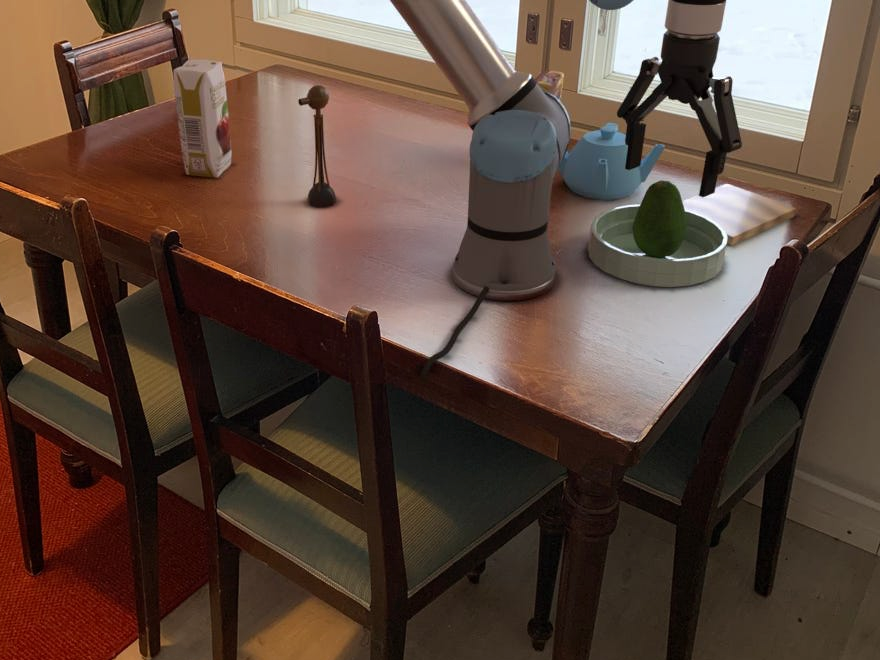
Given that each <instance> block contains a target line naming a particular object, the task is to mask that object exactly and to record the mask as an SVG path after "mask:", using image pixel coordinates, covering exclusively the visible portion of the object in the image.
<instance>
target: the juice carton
mask: <svg viewBox="0 0 880 660" xmlns="http://www.w3.org/2000/svg"><path fill="white" fill-rule="evenodd" d="M225 78H226V77H225V73H224V69H223V63H222V61H220V60H212V59H211V60H210V59H198V58H197V59H196V58H189V59H187V61H185V62H184V63H183V65H182V66H178V67H176V68H174V69H173V91H174V98H175V100H174V101H175V108H176V116H177V125H178V131H179V140H180V148H181V155H182V156H181V157H182V162H183V167H184V170H185V174H186V175H187V176H193V177H204V178H213V179H217V178H219V177H220V176H221V175H222V174H223V172H224V171H226V170H227V169H228V168H229V167H230V166H231V165H232V156H233V155H232V153H233V152H232V139H231V129H230V119H229V118H230V117H229V110H228V109H229V108H228V98H227V97H228V96H227V87H226V79H225Z"/></svg>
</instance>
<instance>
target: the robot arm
mask: <svg viewBox="0 0 880 660" xmlns="http://www.w3.org/2000/svg"><path fill="white" fill-rule="evenodd" d="M588 1H589V2H590V3H591V4H592V5H594V6H595V7H597V8H599V9H601V10H605V11H617V10H620V9H623V8H625V7H627V6H628V5H629V4H631V3H633V1H634V0H588ZM389 2H390V3H391V4H392V5H393V7H394V9H395V10H396V12H398V14H399V15H400V17H401V18H402V19H403V20H404V22H405V23H406V24H407V26H408V27H409V29H410V31H412V33H413V34H414V36H415V37H416V38H417V40H418V41H419V42H420V44H421V45H422V46H423V48H424V49H425V51H426V52H427V53H428V54H429V56H430V57H431V58H432V60H433V61H434V63H435V64H436V66H437V67H438V68H439V69H440V71H441V72H442V73H443V75H444V76H445V78H446V79H447V80H448V82H449V83H450V85H451V86H452V87H453V89H454V90H455V91H456V93H457V94H458V96H459V97H460V98H461V100H462V101H463V102H464V104H465V105H466V106H467V108H468V115H467V125H468V126H469V128H470V129H471V131H472V136H471V140H470V143H469V158H470V159H469V179H468V199H467V201H468V202H467V224H466V229H465V232H464V235H463V237H462V240H461V242H460V245H459V248H458V252H457V253H456V255H455V257H454V261H453V264H452V279H453V281H454V283H455V284H456V285H457V286H458V287H459V288H460V289H462V290H463V291H465V292H466V293H468V294H471V295H474V296H476V297H477V298H476V299H475V301H474V303H473V305H472V307H471V308H470V310H469V311H468V313H466V315H465V316H464V318H463V319H462V320H461V321H460V322H459V324H458V325H457V326H456V327H455V329H454V330H453V332H452V334H451V336H450V338H449V341H448V342H447V344H446V345H445V347H444V348H443V349H442V350H440V351H438V352H436V353H435V354H433V355H432V356H430V357H429V358H428V359H427V361H426V362H424V365H423V367H422V369H421V372H420V377H421V378H426V377H427V376H428V373H429V371H430V369H431V368H432V365H433V364H434V363H435V362H436V361H438V360H440V359H442V358H444V357H445V356H446V355H448V354H449V352H450V351H451V350H452V349H453V348H454V345H455V344H456V342H457V339H458V338H459V335H460V334H461V332H462V331H463V330H464V328H465V327H466V326H467V324H468V323H470V321H471V320H472V318H473V317H474V316H475V314H476V313H477V312H478V310H479V308H480V306H481V305H482V303H483V301H484V299H485V300H486V299H488V300H492V301H503V302H513V301H524V300H530V299H534V298H537V297H540V296H542V295H544V294H545V293H547V292H549V291H550V290H551V289H552V288H553V286H554V285H555V282H556V273H557V268H556V262H555V259H554V258H553V254H552V248H551V243H550V242H551V241H550V238H549V233H548V226H549V217H550V209H551V208H550V207H551V199H552V188H553V182H554V179H555V176H556V174H557V173H558V171H559V169H558V167H559V165H560V163H561V160H562V159H563V158H564V156H565V154H566V152H567V151H568V149H569V146H570V141H571V120H570V116H569V113H568V110H567V109H566V107H565V105H564V104H563V103H562V101H561V102H560V100H559V99H558V98H556V97H555V96H554V95H552V94H551V93H549V92H546V91H542V89H541V88H540V87H539V85H538V84H537V82H536V81H535V80H534V79H535V78H534V77H533V75H532V74H531V72H524V71H518V70H515V69H514V66H512V64H511V63H510V61H509V59H508V58H507V56H505V55H504V53H503V51H502V50H501V49H500V47H499V46H498V44H497V42H496V41H495V40H494V38H493V37H492V36H491V34H490V33H489V32H488V30H487V29H486V27H485V26H484V25H483V23H482V22H481V20H480V19H479V17H478V16H477V14H476V13H475V12H474V10H473V9H472V8H471V6H470V5H469V3H468V2H467V1H466V0H389ZM726 4H727V0H668V1H667V6H666V14H665V20H664V28H665V29H666V31H665V32H664V33H663V36H662V43H661V50H660V59H661V60H662V61H660V59H659V57H657V56H652V57H649V58H645V59H643V60H642V61H641V64H640V68H639V72H638V75H637V77H636V79H635V80H634V81H633V84H632V85H631V87H630V89H629V90H628V92H627V94H626V96H624V97H625V98H624V99H623V100H622V103H620V106H619V108H618V109H617V110H616V116H617V118H619V119H622V120H624V121H625V124H626V128H625V129H626V131H625V134H626V138H625V144H626V145H628V150H627V157H626V165H625V169H627V170H631V169H634V168H636V167H639V166H640V165H641V161H642V158H643V150H644V142H645V135H646V130H647V124H646V123H643V121H645V119H646V118H647V116H649V114H650V113H652V112H653V111H654V109H656V108H657V107H658V106H659V105H660V104H661V103H662V102H663V101H664V100H665V99H666V98H667V97H668V98H667V99H668V100H671V101H678V102H680V103H681V104H684V105H688V104H689V106H690V109H691V110H692V111H694V113H695V114H696V117H697V119H698V121H699V123H700V126H701V128H702V130H703V132H704V136H705V137H706V139H707V142H708V144H709V146H710V149H711V150H709V151H706V153H705V154H706V155H705V158H704V159H705V160H704V165H703V170H702V176H701V181H700V187H699V193H698V195H699V196H701V197H705V196H708V195H710V194H713V193H715V188H716V187H717V182H718V177H719V175H721V174H722V173H723V172H724V170H725V166H726V160H727V154H730V153H733V152H735V151H738V150H740V149H741V148H742V147H743V141H742V138H741V132H740V128H739V123H738V118H737V114H736V113H737V112H736V109H735V104H734V99H733V95H732V93H733V82H734V81H733V77H731V76H729V75H727V76H725V77H718V76H714V71H713V69H714V66H715V64H716V61H717V58H718V52H719V45H720V41H721V37H720V36H719V34H718V33H720V32H721V31H722V28H723V23H724V18H725V17H724V16H725V11H726ZM657 75H658V78H659V80H660V83H659V84H658V85H657V86H656V87H655V88H654V89H653V90H652V91H651V94H649V95H648V96H647V98H645V99H644V100H643V101H642V102H641V100H642V99H643V97H644V96H645V94H646V92H647V91H648V89H649V87H650V86H651V84H652V83H653V81H654V79H655V78H656V76H657ZM710 88H711V89H710ZM709 89H710V90H709ZM711 94H713V97H712V95H711ZM699 99H701V100H699ZM640 102H641V103H640ZM713 104H714V105H713Z"/></svg>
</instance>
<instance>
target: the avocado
mask: <svg viewBox="0 0 880 660" xmlns="http://www.w3.org/2000/svg"><path fill="white" fill-rule="evenodd" d="M682 201H683V199H682V196H681V192H680V189H678V187H677V185H675V184H674V183H672V182H671V181H669V180H662V179H661V180H658V181H655V182H653V183H651V184H650V185H649V186H648V188H647V190H646V191H645V193H644V195H643V197H642V200H641V202H640V206H639V209H638V211H637V214H636V217H635V220H634V223H633V226H632V229H633V236H634V240H635V242H636V245H637V246H638V248H639V249H640V250H641V251H642V252H643V253H645V254H647V255H649V256H651V257H657V258H661V257H666V256H671V255H672V254H674V253H675V252H676V251H677V250H678V249H679V248H680V246H681V244H682V242H683V239H684V237H685V235H686V227H687V220H686V214H685V209H684V206H683V203H682Z"/></svg>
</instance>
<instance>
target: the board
mask: <svg viewBox="0 0 880 660" xmlns="http://www.w3.org/2000/svg"><path fill="white" fill-rule="evenodd" d="M682 203H683V206H684V209H685V210H689V211H692V212H695V213H698V214H701V215H703V216H706V217H708V218H709V219H711V220H713V221H715V222H716V223H718V224H719V225H720V226H721V227H722V228H723V229H724V230H725V232H726V234H727V237H728V241H727V245H729V246H733V245H736V244H738V243H741V242H742V241H745V240H746V239H749V238H751V237H753V236H755V235H757V234H760V233H762V232H764V231H766V230H768V229H770V228H773V227H775V226H777V225H779V224H781V223H783V222H785V221H786V222H787V220H790V219H792V218H794V217H795V216H796V213H797V207H794V206H791V205H788V204H787V203H782V202H780V201H777V200H774V199H771V198H770V197H766V196H764V195H760V194H758V193H755V192H752V191H749V190H747V189H745V188H741V187H739V186H736V185H732V184H729V183H724V184H721V185H719V186H716V188H715V193H713V194H710V195H708V196H705V197H701V196H699V194H697V195H694V196H692V197H690V198H687V199H685V200H682Z"/></svg>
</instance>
